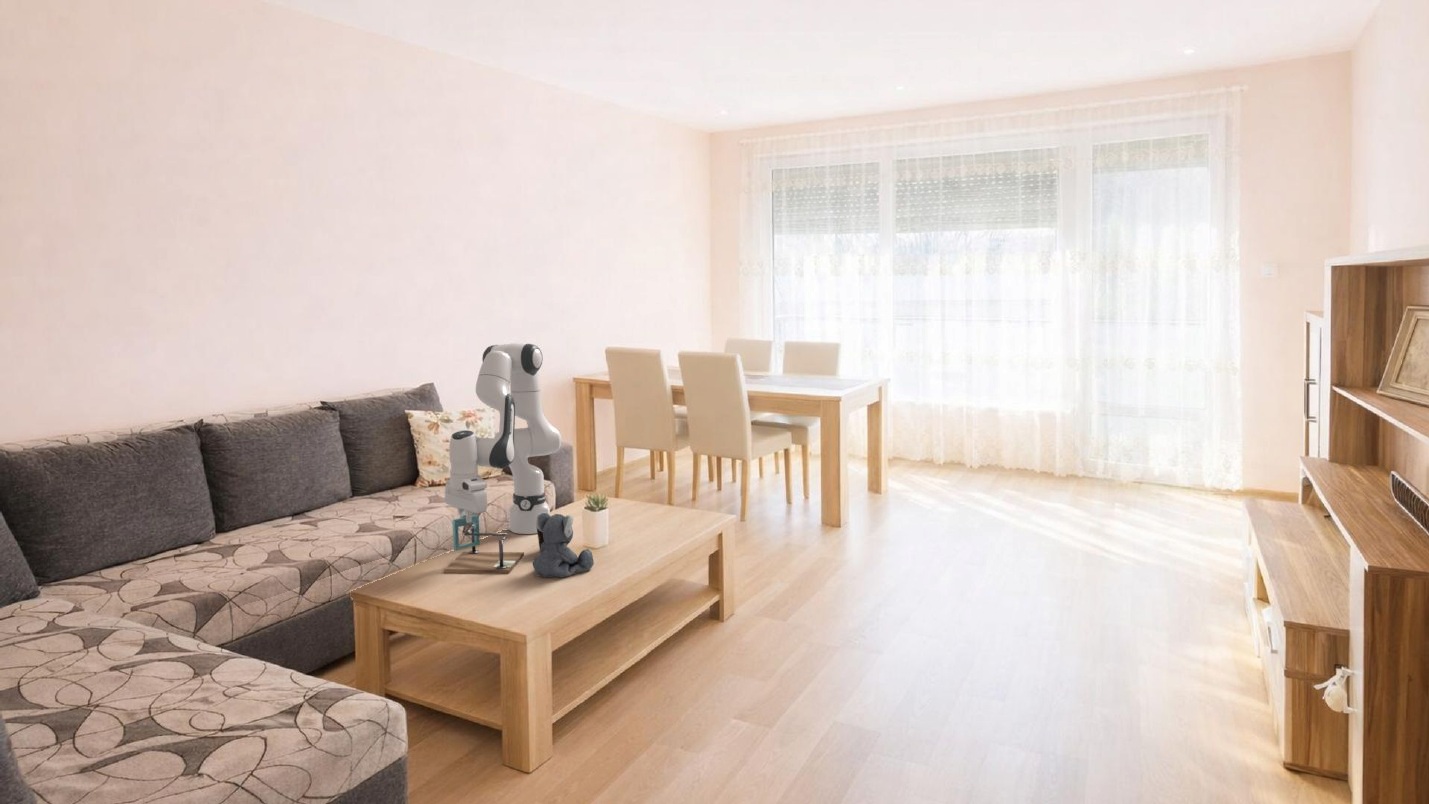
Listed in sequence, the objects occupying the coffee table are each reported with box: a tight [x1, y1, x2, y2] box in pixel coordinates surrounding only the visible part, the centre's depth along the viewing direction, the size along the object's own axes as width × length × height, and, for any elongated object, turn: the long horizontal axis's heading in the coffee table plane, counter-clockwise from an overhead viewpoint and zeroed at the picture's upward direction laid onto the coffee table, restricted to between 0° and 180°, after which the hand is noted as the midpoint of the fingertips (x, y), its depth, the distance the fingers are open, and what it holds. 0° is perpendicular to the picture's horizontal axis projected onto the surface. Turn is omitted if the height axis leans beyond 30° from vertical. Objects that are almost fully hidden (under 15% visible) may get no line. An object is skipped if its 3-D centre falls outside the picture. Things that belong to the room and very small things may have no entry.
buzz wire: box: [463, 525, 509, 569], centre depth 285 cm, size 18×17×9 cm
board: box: [444, 551, 525, 575], centre depth 285 cm, size 18×21×1 cm
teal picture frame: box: [452, 514, 481, 552], centre depth 284 cm, size 1×9×10 cm, turn 137°
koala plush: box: [532, 512, 595, 579], centre depth 276 cm, size 17×18×20 cm
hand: (466, 521), depth 283 cm, fingers closed on teal picture frame, 1 cm apart
